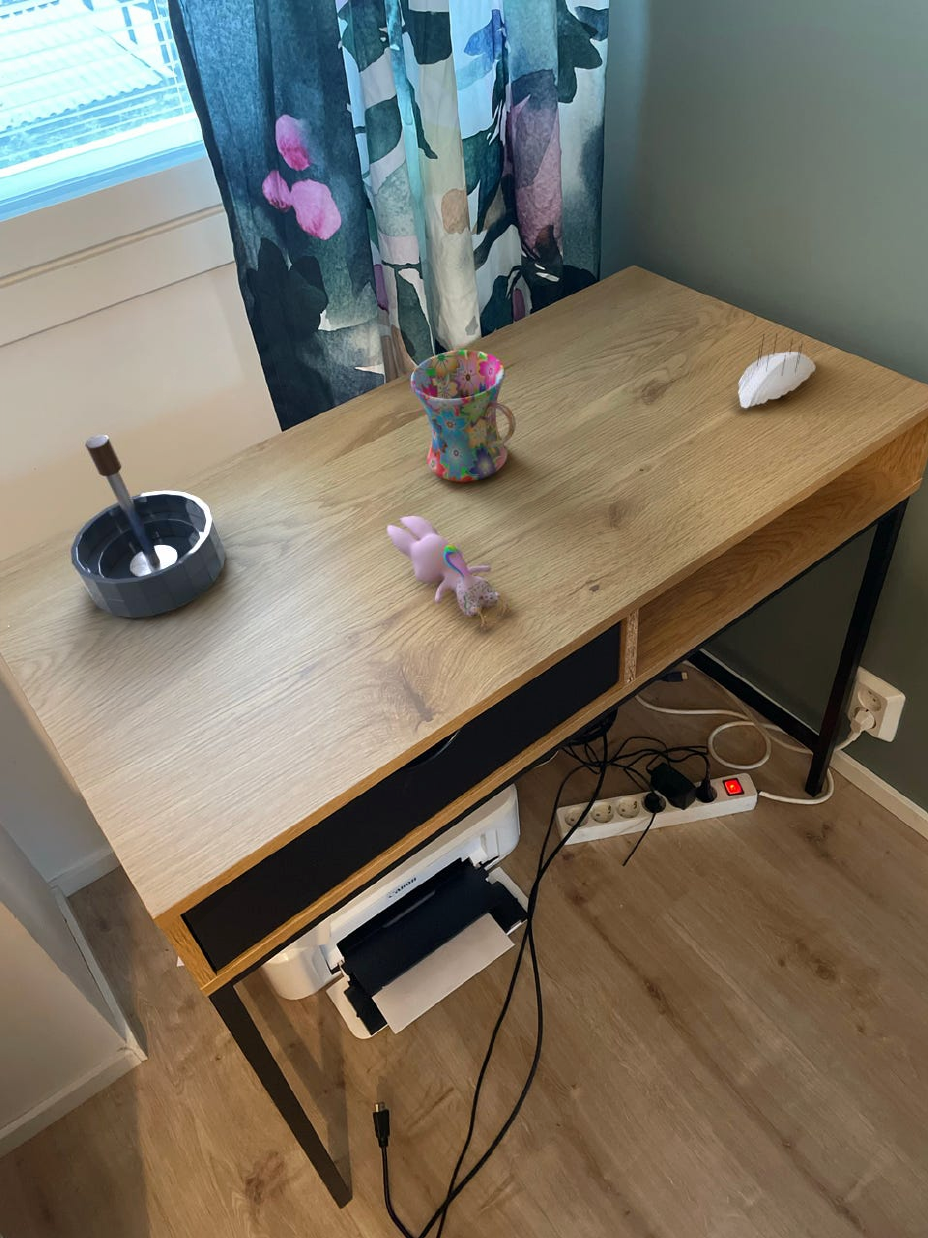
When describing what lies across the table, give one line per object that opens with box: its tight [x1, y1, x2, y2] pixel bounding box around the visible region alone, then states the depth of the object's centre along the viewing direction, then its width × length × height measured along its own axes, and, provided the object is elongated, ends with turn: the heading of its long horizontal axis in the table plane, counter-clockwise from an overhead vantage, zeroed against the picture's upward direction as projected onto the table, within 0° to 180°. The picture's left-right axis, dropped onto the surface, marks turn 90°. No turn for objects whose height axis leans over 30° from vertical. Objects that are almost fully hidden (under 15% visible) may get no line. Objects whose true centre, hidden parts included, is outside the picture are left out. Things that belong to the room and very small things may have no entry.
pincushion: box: [737, 334, 816, 409], centre depth 97 cm, size 12×6×6 cm, turn 133°
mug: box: [410, 349, 517, 483], centre depth 91 cm, size 12×9×11 cm
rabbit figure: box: [386, 515, 512, 631], centre depth 80 cm, size 6×6×15 cm
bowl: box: [70, 490, 227, 619], centre depth 86 cm, size 13×13×5 cm
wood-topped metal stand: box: [85, 434, 180, 577], centre depth 82 cm, size 5×5×15 cm
